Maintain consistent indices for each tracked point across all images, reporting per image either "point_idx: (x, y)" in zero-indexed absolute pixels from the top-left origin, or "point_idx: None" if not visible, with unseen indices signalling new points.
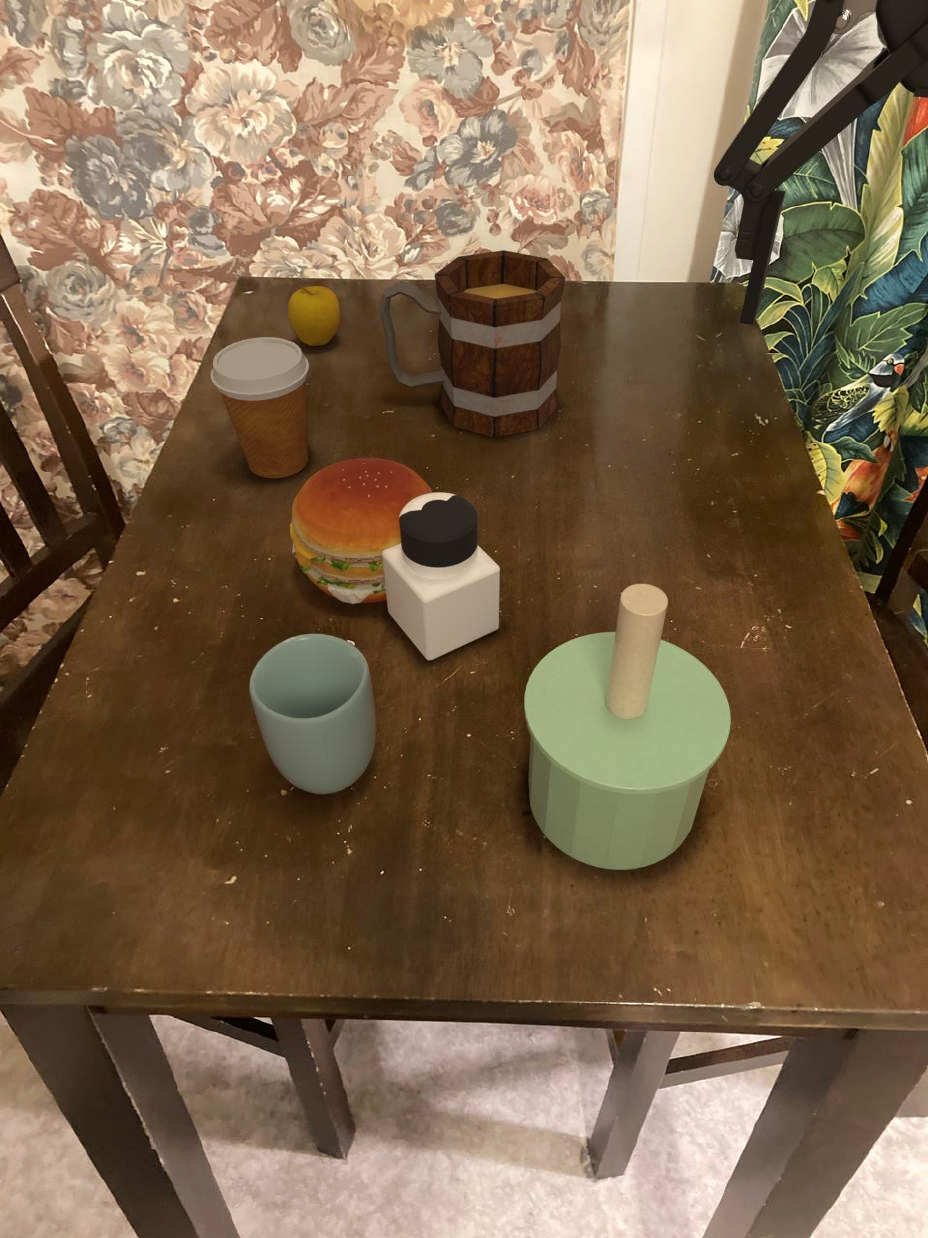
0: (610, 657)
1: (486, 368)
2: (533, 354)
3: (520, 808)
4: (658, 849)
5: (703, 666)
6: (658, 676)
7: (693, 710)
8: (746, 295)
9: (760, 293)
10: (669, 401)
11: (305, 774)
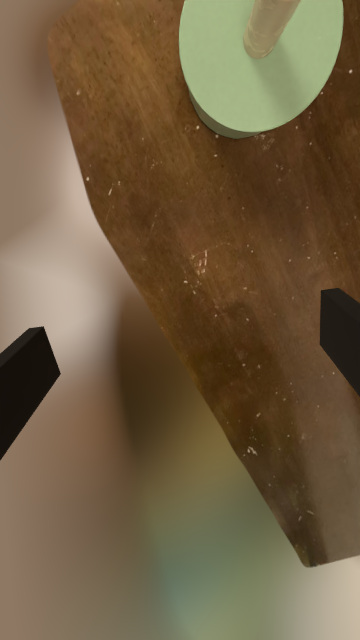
0: (286, 86)
1: None
2: None
3: None
4: None
5: (217, 118)
6: (245, 87)
7: (210, 63)
8: (354, 301)
9: (334, 318)
10: (312, 447)
11: None
